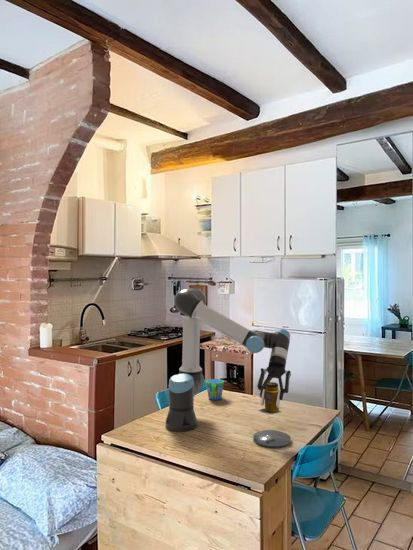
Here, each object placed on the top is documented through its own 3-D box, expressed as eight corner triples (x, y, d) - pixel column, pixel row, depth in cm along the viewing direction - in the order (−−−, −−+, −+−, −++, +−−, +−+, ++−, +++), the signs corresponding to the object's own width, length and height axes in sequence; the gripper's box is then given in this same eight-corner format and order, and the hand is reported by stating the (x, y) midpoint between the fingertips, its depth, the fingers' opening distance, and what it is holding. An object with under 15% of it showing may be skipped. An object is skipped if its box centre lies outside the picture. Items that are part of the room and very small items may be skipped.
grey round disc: (248, 444, 179) (248, 434, 179) (258, 431, 193) (258, 421, 193) (286, 450, 172) (286, 439, 172) (293, 436, 187) (293, 426, 187)
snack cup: (209, 394, 252) (208, 377, 252) (226, 395, 250) (226, 378, 250) (202, 402, 237) (202, 383, 237) (221, 403, 235) (221, 385, 235)
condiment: (283, 411, 182) (283, 384, 182) (268, 415, 178) (268, 387, 178) (271, 407, 188) (271, 380, 188) (257, 410, 184) (257, 383, 184)
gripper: (300, 365, 193) (293, 412, 178) (259, 362, 201) (249, 407, 186) (297, 356, 188) (290, 403, 173) (256, 353, 196) (246, 398, 181)
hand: (269, 405), depth 179 cm, fingers closed on condiment, 6 cm apart
